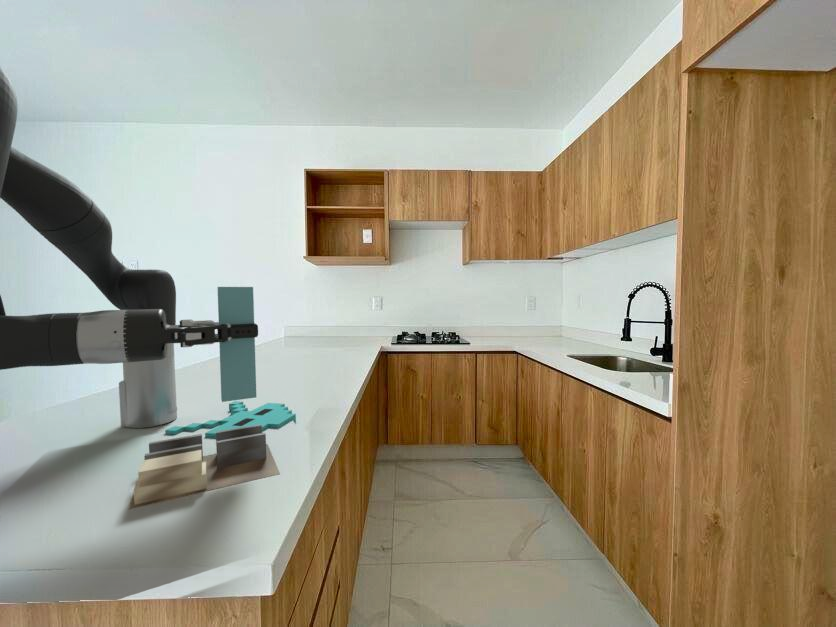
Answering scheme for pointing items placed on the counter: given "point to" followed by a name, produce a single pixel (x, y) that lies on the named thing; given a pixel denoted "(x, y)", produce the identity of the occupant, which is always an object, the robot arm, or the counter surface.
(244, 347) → the block
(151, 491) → the offcut lower
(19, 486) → the counter surface
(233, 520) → the counter surface
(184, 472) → the offcut upper
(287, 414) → the alien figure
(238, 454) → the rack
